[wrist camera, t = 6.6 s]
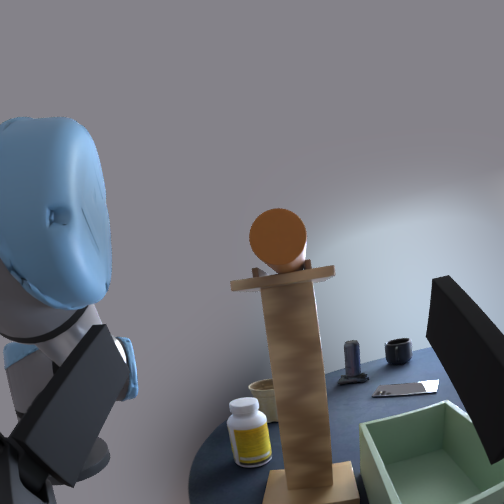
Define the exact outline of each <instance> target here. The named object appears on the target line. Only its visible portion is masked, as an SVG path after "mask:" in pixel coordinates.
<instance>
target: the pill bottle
mask: <svg viewBox="0 0 504 504" xmlns="http://www.w3.org/2000/svg"><path fill="white" fill-rule="evenodd" d="M229 406H230V411H231V412H232V415H231V416H230V417H229V418H228V420H227V426H228V431H229V436H230V441H231V446H232V451H233V456H234V460H235V462H236V463H237V464H238V465H239V466H242V467H248V468H251V467H258V466H262V465H264V464H266V463H268V462H269V461H270V460H271V458H272V452H271V445H270V438H269V432H268V425H267V419H266V416H265V415H264V414H263V413H262V412H260V411H258V409H259V403H258V400H257V399H256V398H250V397H247V398H239V399H235V400H233V401H231V402H230V403H229Z"/></svg>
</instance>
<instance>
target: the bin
mask: <svg viewBox="0 0 504 504" xmlns="http://www.w3.org/2000/svg"><path fill="white" fill-rule="evenodd" d="M359 436H360V473H361V476H362V480H363V483H364V486H365V490H366V493H367V497H368V500H369V504H503V502H504V459H502V460H500V461H499V462H497V463H495V464H493V465H491V464H490V462H489V459H488V457H487V454H486V452H485V450H484V448H483V445H482V443H481V441H480V438H479V436H478V434H477V432H476V430H475V428H474V425H473V423H472V421H471V419H470V417H469V415H468V414H467V413H465V412H464V411H462V410H461V409H460V408H458V407H457V406H456V405H454V404H453V403H451V402H450V401H449V400H446V401H443V402H440V403H437V404H433V405H430V406H427V407H424V408H420V409H417V410H413V411H410V412H406V413H402V414H399V415H395V416H391V417H387V418H382V419H378V420H374V421H369V422H365V423H360V424H359Z"/></svg>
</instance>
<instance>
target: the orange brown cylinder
mask: <svg viewBox="0 0 504 504" xmlns="http://www.w3.org/2000/svg"><path fill="white" fill-rule="evenodd" d="M249 238H250V239H249V241H250V245H251V248H252V250H253V252H254V253H255V255H256V256H257V257H258V258H259V259H260V260H262V261H263V262H264V263H265V264H267V265H268V266H269V267H271V268H272V269H273V270H274V271H276V272H277V273H278V274H281V273H288V272H294V271H300V270H303V268H304V261H305V253H306V241H307V233H306V228H305V225H304V223H303V222H302V220H301V219H300V218H299V217H298V216H297V215H296V214H295V213H293V212H291V211H289V210H286V209H280V208H278V209H271V210H268V211H266V212H264V213H262V214H261V215H259V216H258V217H257V218H256V220H255V221H254V223H253V224H252V226H251V229H250V234H249Z"/></svg>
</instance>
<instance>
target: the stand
mask: <svg viewBox="0 0 504 504" xmlns="http://www.w3.org/2000/svg"><path fill="white" fill-rule="evenodd" d="M252 273H253V278H248V279H242V280H234V281H230V284H231V290H232V291H239V292H258V291H261V297H262V304H263V312H264V319H265V327H266V334H267V341H268V349H269V355H270V363H271V370H272V378H273V385H274V392H275V400H276V407H277V414H278V422H279V429H280V436H281V444H282V451H283V459H284V466H285V469H284V470H270V473H269V477H268V482H267V486H266V490H265V495H264V499H263V503H262V504H360V496H359V492H358V488H357V484H356V480H355V476H354V473H353V469H352V465H351V461H347V462H342V463H335V464H332V453H331V439H330V426H329V414H328V403H327V392H326V383H325V373H324V364H323V355H322V347H321V339H320V331H319V323H318V317H317V316H318V315H317V308H316V301H315V294H314V287H313V283H317V282H323V281H326V280H328V279H330V278H331V277H333V276H335V275H336V273H335V268H334V265H332V266H325V267H320V268H313V269H312V267H311V260H310V259H309V260H305V261H304V270H300V271H294V272H288V273H281V274H275V275H269V274H267V273H266V272H264V271H262V270H260V269H259V268H252Z"/></svg>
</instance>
